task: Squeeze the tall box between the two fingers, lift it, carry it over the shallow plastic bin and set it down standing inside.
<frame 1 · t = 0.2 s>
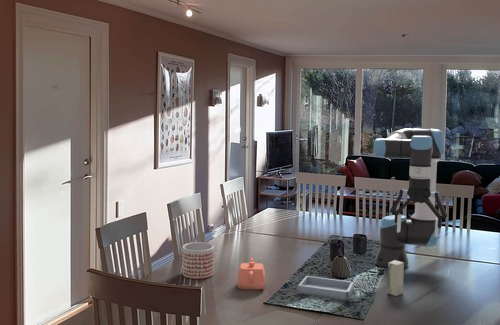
hand: (417, 234, 190), 27 cm above the table, fingers open, 13 cm apart
teapot: (251, 286, 210), on the table
planter: (198, 274, 225), on the table
box: (394, 294, 204), on the table
bin: (326, 291, 205), on the table
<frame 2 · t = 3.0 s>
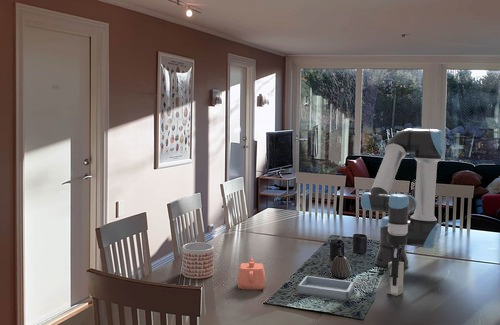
hand: (395, 290, 204), 1 cm above the table, fingers closed on box, 6 cm apart
box: (394, 294, 204), on the table, touching gripper
everything else where it was.
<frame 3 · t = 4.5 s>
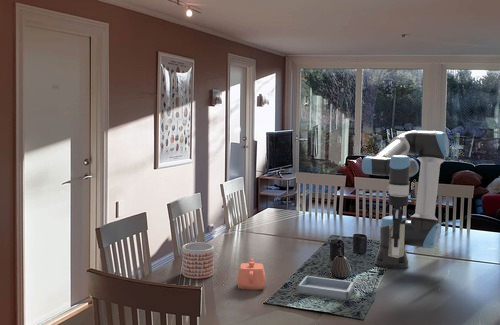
hand: (396, 252, 202), 17 cm above the table, fingers closed on box, 6 cm apart
box: (395, 256, 202), point 15 cm above the table, touching gripper
everything else where it was.
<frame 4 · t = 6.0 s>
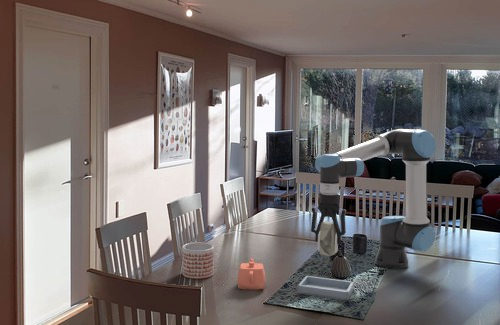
hand: (327, 250, 203), 17 cm above the table, fingers closed on box, 6 cm apart
box: (327, 254, 203), point 15 cm above the table, touching gripper
everything else where it was.
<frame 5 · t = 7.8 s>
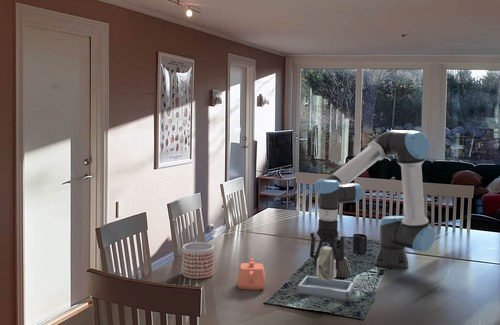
hand: (326, 275, 204), 7 cm above the table, fingers closed on box, 6 cm apart
box: (326, 279, 204), point 5 cm above the table, touching gripper
everything else where it was.
when the fingers open (4 cm above the table, at t = 9.2 s): box drops 1 cm, resting on bin.
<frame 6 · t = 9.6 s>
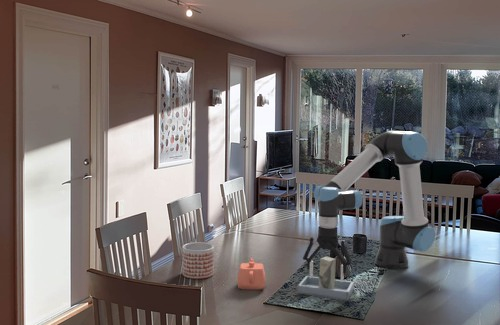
hand: (326, 279, 204), 5 cm above the table, fingers open, 12 cm apart
box: (326, 290, 205), point 1 cm above the table, touching bin
everything else where it was.
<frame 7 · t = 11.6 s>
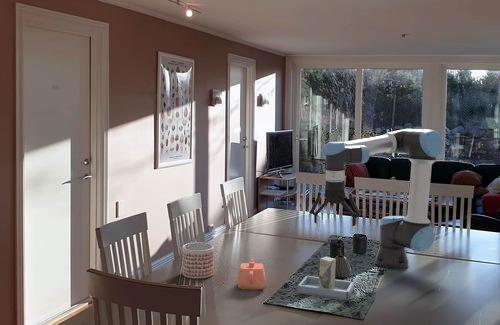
hand: (334, 232, 206), 23 cm above the table, fingers open, 13 cm apart
nothing on the table moved.
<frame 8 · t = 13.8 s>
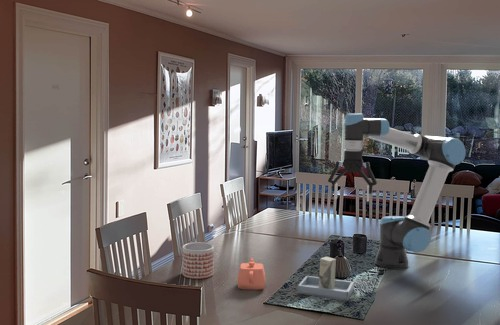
hand: (351, 200, 217), 35 cm above the table, fingers open, 13 cm apart
nothing on the table moved.
at the end: box inside the target area on the bin (0.3 cm from its centre), point 0.6 cm above the bin's base; box tilted 0°; the gripper is holding nothing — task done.
